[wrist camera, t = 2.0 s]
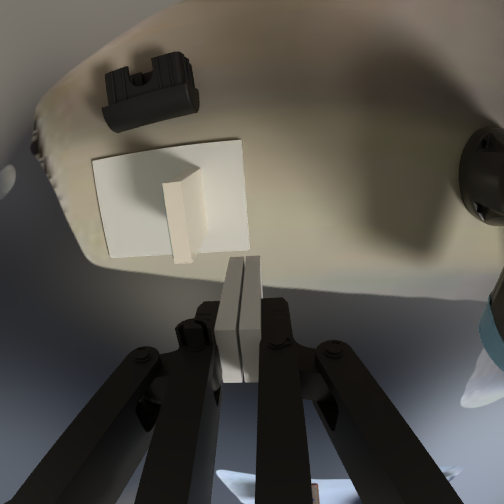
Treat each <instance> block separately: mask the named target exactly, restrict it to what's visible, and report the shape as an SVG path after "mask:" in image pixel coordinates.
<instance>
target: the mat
mask: <svg viewBox="0 0 504 504" xmlns="http://www.w3.org/2000/svg"><path fill="white" fill-rule="evenodd" d="M92 163H93V170H94V177H95V183H96V190H97V195H98V201H99V207H100V212H101V217H102V222H103V227H104V232H105V236H106V241H107V245H108V250H109V254H110V258H119V257H137V256H154V255H172V249H171V243H170V237H169V231H168V224H167V218H166V211H165V204H164V197H163V190H162V187H163V185H162V183H164V182H166V181H167V180H169V179H171V178H173V177H174V176H176V175H178V174H180V173H181V172H183V171H185V170H187V169H196V168H201V172H202V182H203V191H204V200H205V209H206V218H207V226H208V231H207V233H206V236H205V238H204V240H203V242H202V244H201V246H200V248H199V250H198V252H197V253H207V252H225V251H243V250H250V243H249V230H248V217H247V204H246V191H245V178H244V165H243V152H242V140H231V141H220V142H210V143H200V144H192V145H184V146H176V147H169V148H162V149H155V150H149V151H142V152H136V153H131V154H125V155H120V156H114V157H109V158H104V159H99V160H95V161H92Z"/></svg>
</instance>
